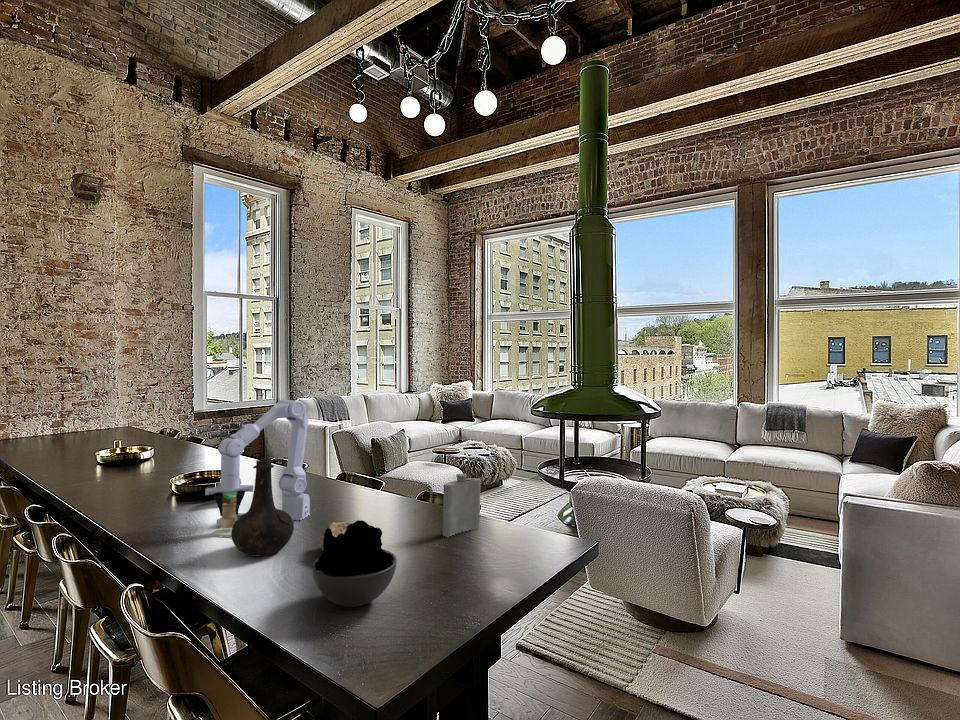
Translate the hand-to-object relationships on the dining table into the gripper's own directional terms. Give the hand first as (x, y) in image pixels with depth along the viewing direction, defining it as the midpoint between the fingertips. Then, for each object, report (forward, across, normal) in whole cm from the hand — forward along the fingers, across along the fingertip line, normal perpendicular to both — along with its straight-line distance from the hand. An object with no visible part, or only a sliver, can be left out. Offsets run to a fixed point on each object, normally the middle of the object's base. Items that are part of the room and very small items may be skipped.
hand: (229, 514), depth 173 cm
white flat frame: (+6, -4, -9) cm, 11 cm away
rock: (+7, -34, +34) cm, 49 cm away
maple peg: (+4, 0, 0) cm, 4 cm away
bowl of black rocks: (+6, -32, +66) cm, 73 cm away
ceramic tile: (+6, 0, 0) cm, 6 cm away
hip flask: (+6, -75, +25) cm, 79 cm away
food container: (+6, +1, -38) cm, 39 cm away
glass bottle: (+7, -11, +22) cm, 25 cm away
